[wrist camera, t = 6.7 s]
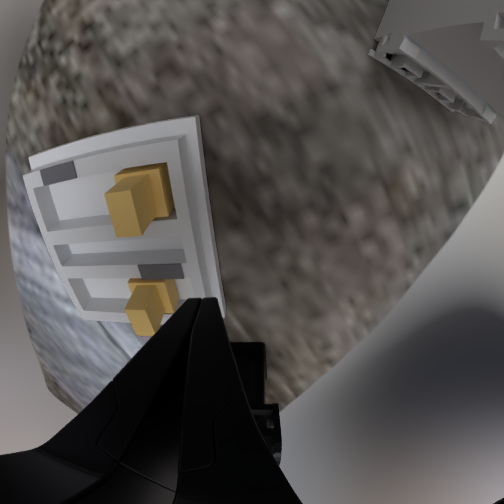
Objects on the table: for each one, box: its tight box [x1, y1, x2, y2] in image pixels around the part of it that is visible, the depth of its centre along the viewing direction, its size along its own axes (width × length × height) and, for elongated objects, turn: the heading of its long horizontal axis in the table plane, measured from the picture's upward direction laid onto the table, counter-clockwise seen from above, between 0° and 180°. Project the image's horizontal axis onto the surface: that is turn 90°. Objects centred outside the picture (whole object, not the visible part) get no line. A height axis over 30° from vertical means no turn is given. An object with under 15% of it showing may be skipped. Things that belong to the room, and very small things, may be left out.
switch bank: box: [23, 115, 226, 325], centre depth 19 cm, size 14×16×3 cm
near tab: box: [104, 162, 175, 238], centre depth 15 cm, size 3×3×4 cm
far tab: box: [124, 278, 179, 336], centre depth 20 cm, size 3×3×4 cm
